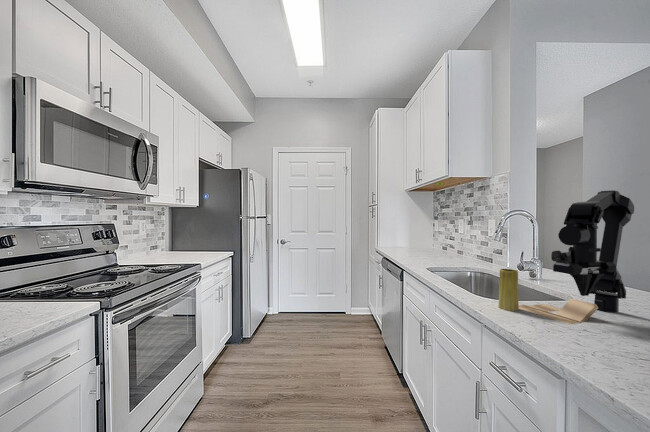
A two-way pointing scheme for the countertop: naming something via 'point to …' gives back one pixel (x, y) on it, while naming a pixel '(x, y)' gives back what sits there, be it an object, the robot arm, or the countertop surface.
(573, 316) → the plank
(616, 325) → the countertop surface
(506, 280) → the vase
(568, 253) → the robot arm
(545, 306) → the plank
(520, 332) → the countertop surface
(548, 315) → the laid board
